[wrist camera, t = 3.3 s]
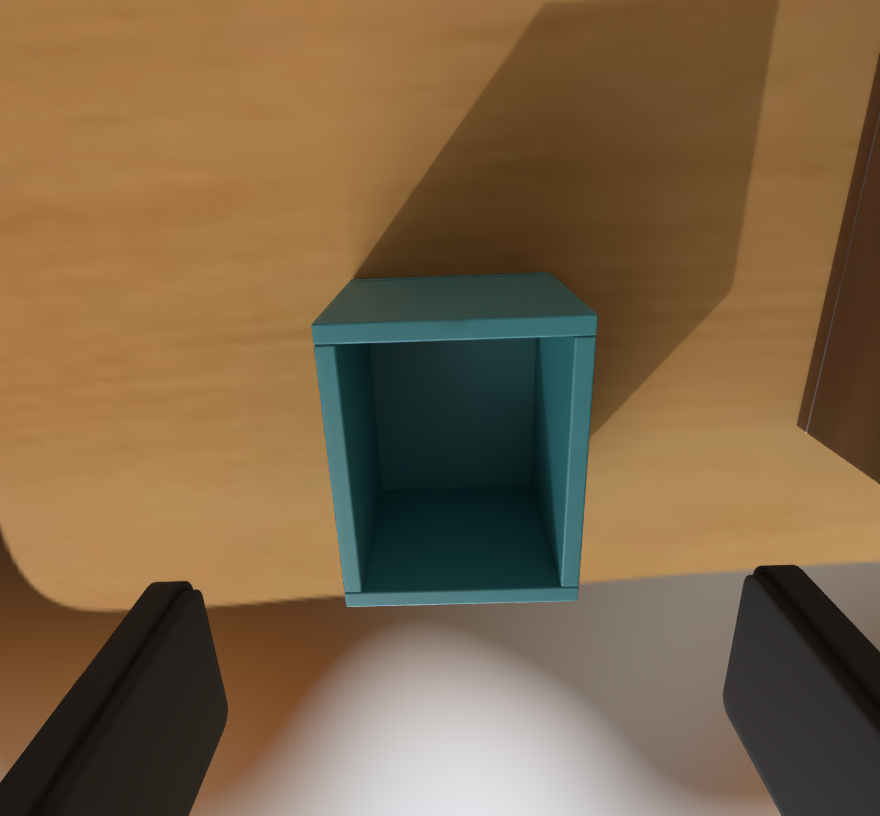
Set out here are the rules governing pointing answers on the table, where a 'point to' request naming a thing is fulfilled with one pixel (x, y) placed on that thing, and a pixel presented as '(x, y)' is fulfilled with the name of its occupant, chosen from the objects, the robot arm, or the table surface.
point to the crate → (852, 321)
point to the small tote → (457, 436)
